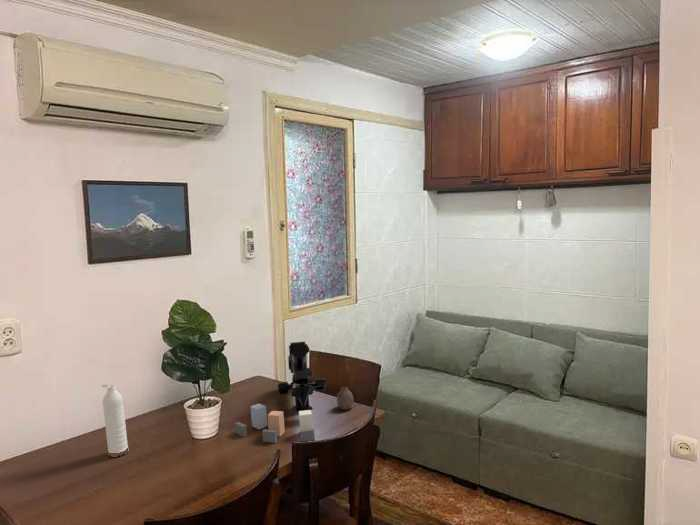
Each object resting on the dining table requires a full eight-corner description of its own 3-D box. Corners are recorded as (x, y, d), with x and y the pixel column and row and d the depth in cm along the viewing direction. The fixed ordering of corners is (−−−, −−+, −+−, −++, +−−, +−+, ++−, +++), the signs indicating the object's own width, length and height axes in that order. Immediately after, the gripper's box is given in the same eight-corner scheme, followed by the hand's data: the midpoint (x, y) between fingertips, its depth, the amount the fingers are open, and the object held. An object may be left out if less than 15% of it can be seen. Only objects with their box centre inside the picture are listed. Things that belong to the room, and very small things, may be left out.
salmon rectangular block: (273, 430, 200) (272, 410, 199) (284, 431, 199) (283, 411, 198) (269, 435, 196) (267, 414, 195) (280, 436, 195) (278, 415, 194)
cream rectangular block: (300, 431, 198) (298, 411, 197) (312, 430, 199) (310, 409, 198) (300, 436, 194) (299, 415, 193) (313, 434, 195) (311, 414, 194)
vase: (354, 404, 222) (353, 384, 221) (353, 411, 215) (351, 390, 214) (338, 404, 222) (337, 384, 221) (336, 411, 216) (334, 390, 215)
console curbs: (230, 438, 196) (229, 428, 196) (237, 431, 201) (236, 421, 201) (310, 446, 186) (309, 435, 186) (316, 439, 192) (315, 428, 191)
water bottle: (131, 452, 189) (124, 385, 186) (113, 459, 184) (105, 390, 181) (120, 446, 195) (113, 380, 192) (102, 452, 190) (95, 385, 187)
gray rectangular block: (260, 422, 208) (258, 403, 207) (267, 425, 205) (265, 406, 204) (252, 426, 205) (250, 406, 204) (259, 429, 202) (257, 409, 201)
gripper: (276, 363, 207) (278, 401, 198) (323, 358, 210) (328, 395, 201) (277, 375, 216) (279, 412, 207) (322, 371, 219) (327, 407, 209)
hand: (303, 406), depth 206 cm, fingers closed
